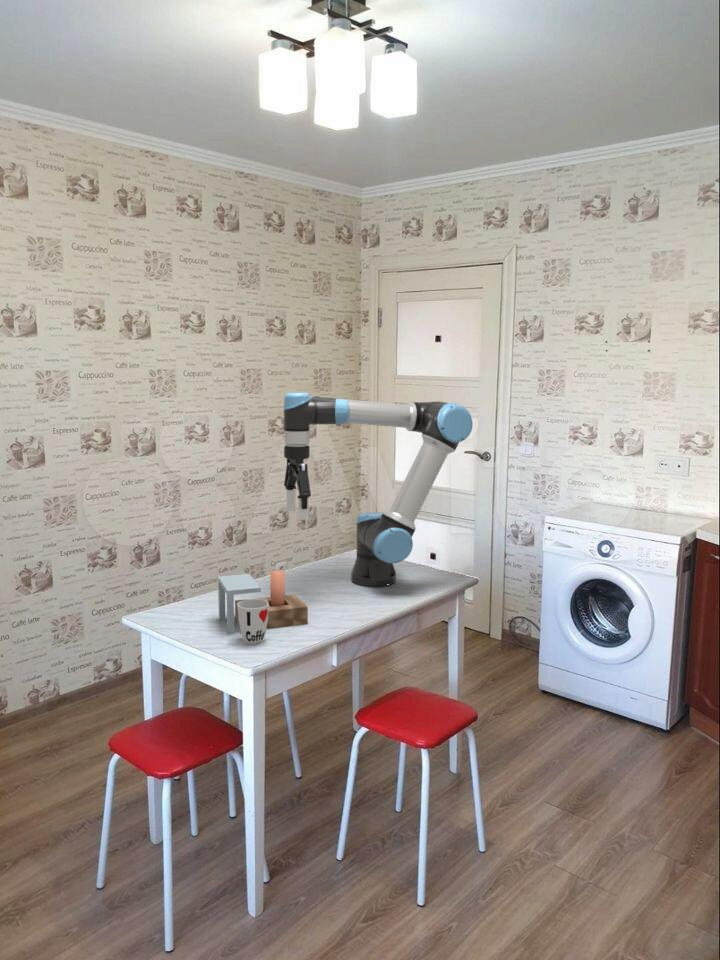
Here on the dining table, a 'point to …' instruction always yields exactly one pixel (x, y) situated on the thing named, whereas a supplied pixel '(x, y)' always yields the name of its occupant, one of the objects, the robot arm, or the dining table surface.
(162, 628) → the dining table surface
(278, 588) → the dowel
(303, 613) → the socket block
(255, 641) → the cup
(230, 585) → the grey-blue stool
